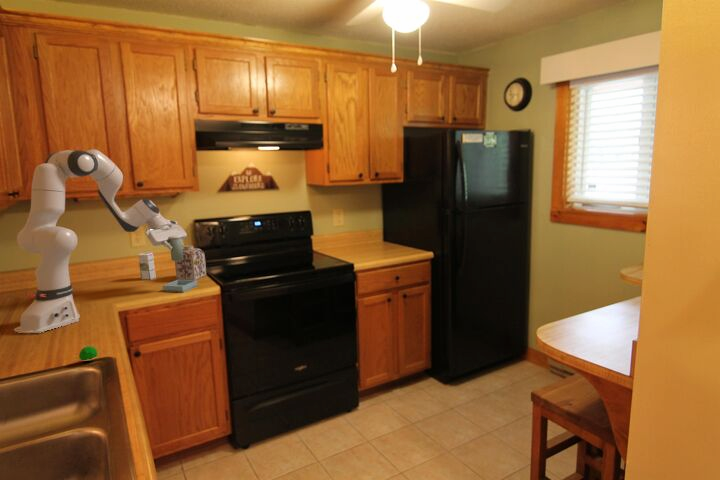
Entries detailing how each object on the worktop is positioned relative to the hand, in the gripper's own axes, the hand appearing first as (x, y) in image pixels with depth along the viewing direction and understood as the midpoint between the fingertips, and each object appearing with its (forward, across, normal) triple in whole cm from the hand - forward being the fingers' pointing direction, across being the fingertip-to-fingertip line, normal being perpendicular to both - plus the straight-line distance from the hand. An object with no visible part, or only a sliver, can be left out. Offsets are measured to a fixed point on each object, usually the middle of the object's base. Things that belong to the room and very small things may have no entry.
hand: (177, 247), depth 223 cm
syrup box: (-10, +11, +40) cm, 43 cm away
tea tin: (+4, 0, +5) cm, 6 cm away
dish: (+15, 0, +15) cm, 21 cm away
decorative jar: (+7, +20, +24) cm, 32 cm away
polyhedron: (+41, -76, -11) cm, 87 cm away
